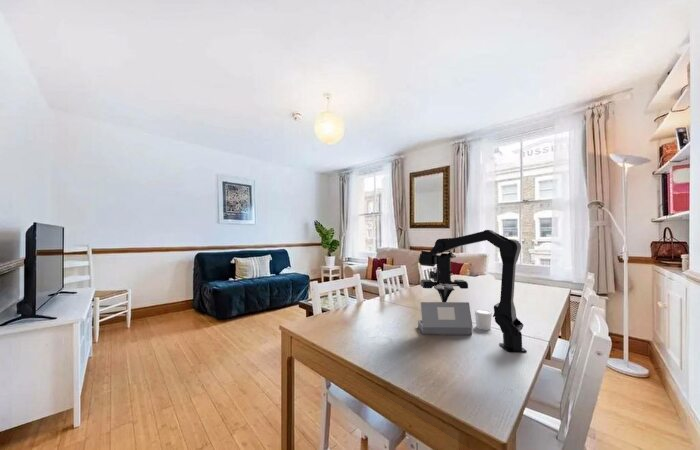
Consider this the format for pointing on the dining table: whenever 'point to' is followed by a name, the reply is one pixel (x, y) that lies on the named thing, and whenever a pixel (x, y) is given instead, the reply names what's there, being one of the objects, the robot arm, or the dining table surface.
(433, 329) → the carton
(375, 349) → the dining table surface
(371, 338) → the dining table surface
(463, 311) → the lid flap
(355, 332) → the dining table surface
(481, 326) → the shot glass
